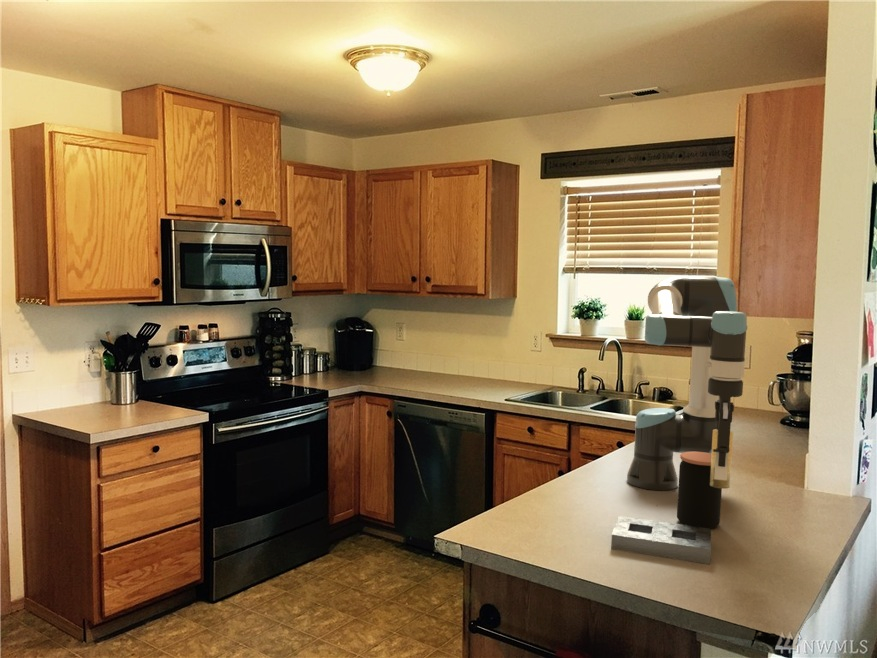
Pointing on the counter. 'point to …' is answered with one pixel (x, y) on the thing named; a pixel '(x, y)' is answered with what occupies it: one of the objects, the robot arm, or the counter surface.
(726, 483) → the yellow translucent cylinder
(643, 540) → the block
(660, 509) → the counter surface
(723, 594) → the counter surface
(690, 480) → the coffee jar
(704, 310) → the robot arm
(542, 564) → the counter surface
